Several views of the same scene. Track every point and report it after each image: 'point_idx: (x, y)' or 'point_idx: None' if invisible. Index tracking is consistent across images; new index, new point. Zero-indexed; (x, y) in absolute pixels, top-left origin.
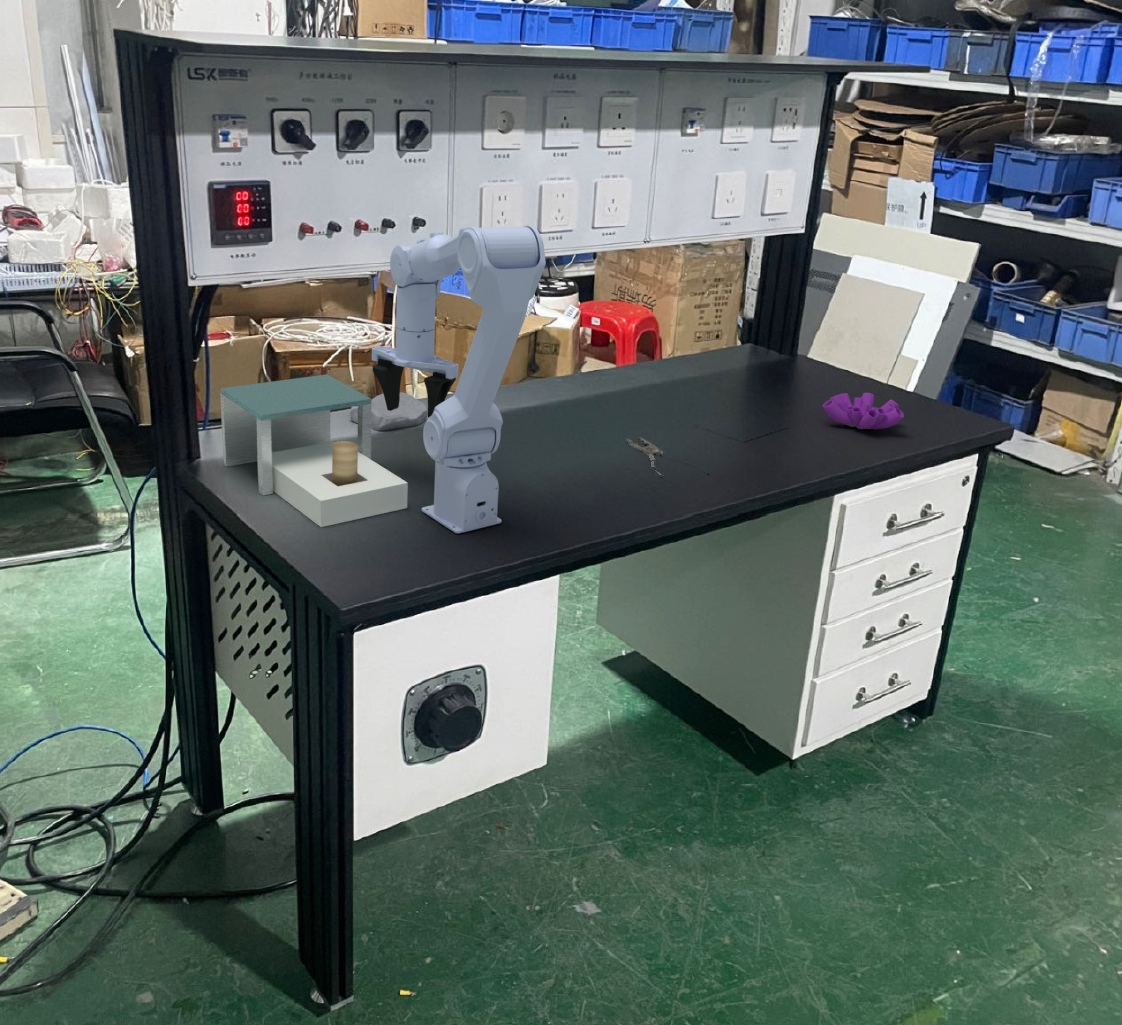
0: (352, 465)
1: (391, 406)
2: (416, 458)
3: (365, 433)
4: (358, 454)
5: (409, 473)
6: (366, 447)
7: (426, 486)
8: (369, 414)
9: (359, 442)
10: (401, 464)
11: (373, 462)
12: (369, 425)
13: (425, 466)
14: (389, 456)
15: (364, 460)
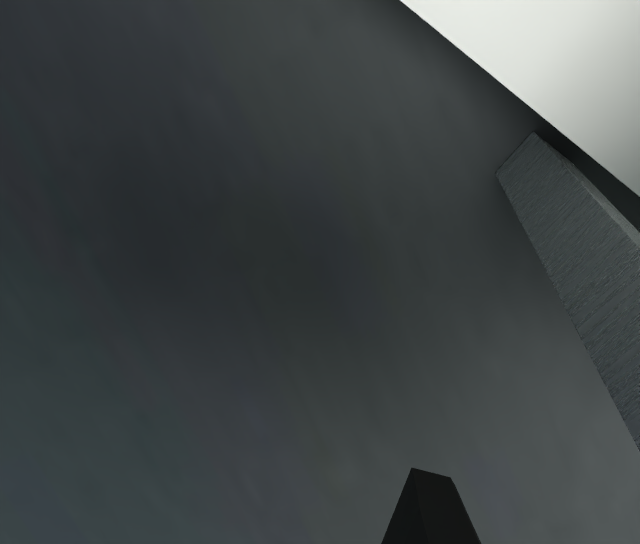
0: None
1: (409, 513)
2: (355, 432)
3: (591, 241)
4: (584, 111)
5: (313, 263)
6: (552, 204)
7: (165, 139)
8: (616, 358)
9: (619, 217)
10: (391, 350)
11: (427, 5)
12: (580, 298)
13: (281, 366)
14: (479, 415)
15: (504, 11)
